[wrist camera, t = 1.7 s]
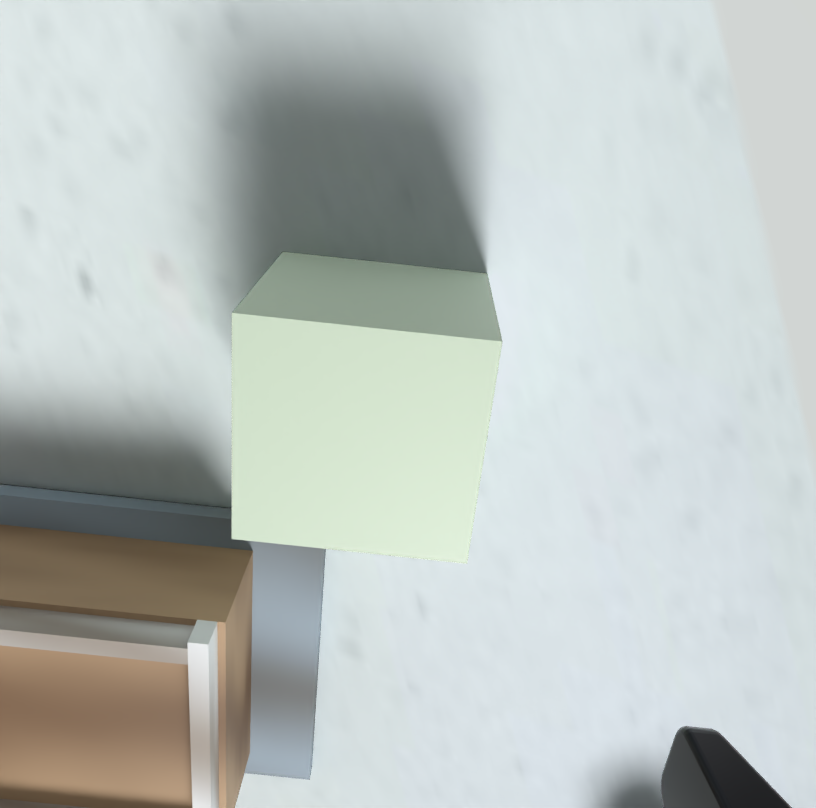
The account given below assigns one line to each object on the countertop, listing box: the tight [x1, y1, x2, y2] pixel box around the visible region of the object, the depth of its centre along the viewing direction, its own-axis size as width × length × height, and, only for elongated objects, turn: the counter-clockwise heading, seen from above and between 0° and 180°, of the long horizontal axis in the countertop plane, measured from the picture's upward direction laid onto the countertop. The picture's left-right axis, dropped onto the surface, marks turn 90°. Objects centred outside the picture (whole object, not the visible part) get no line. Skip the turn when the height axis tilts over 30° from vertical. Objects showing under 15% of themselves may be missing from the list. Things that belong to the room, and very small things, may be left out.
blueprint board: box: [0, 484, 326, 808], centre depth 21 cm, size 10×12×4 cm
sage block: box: [232, 252, 502, 564], centre depth 17 cm, size 5×5×5 cm
